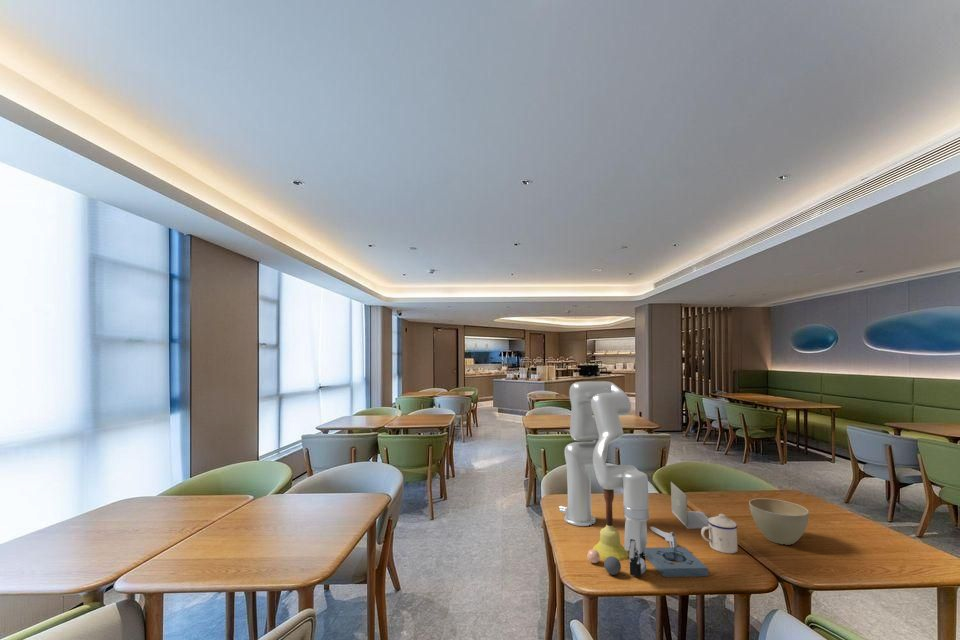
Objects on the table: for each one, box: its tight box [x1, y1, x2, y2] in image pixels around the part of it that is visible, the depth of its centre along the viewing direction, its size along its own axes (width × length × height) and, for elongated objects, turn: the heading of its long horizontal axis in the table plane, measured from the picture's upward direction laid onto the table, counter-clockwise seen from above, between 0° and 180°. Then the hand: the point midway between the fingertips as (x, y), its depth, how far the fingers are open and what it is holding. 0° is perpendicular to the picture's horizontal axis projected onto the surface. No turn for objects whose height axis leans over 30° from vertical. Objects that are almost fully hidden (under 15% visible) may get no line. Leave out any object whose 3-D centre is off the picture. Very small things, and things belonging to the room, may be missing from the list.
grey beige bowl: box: [748, 497, 810, 546], centre depth 155 cm, size 18×18×12 cm
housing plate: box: [644, 546, 709, 578], centre depth 136 cm, size 14×14×2 cm
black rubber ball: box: [603, 556, 622, 576], centre depth 131 cm, size 5×5×5 cm
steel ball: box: [628, 556, 647, 575], centre depth 131 cm, size 5×5×5 cm
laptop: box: [670, 481, 710, 530], centre depth 174 cm, size 18×12×13 cm
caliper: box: [649, 526, 678, 547], centre depth 155 cm, size 20×1×6 cm, turn 1°
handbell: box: [591, 488, 629, 562], centre depth 146 cm, size 12×12×25 cm
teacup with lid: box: [700, 513, 738, 554], centre depth 149 cm, size 12×9×12 cm
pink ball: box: [586, 548, 601, 564], centre depth 138 cm, size 4×4×4 cm
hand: (637, 571), depth 131 cm, fingers closed on steel ball, 5 cm apart
